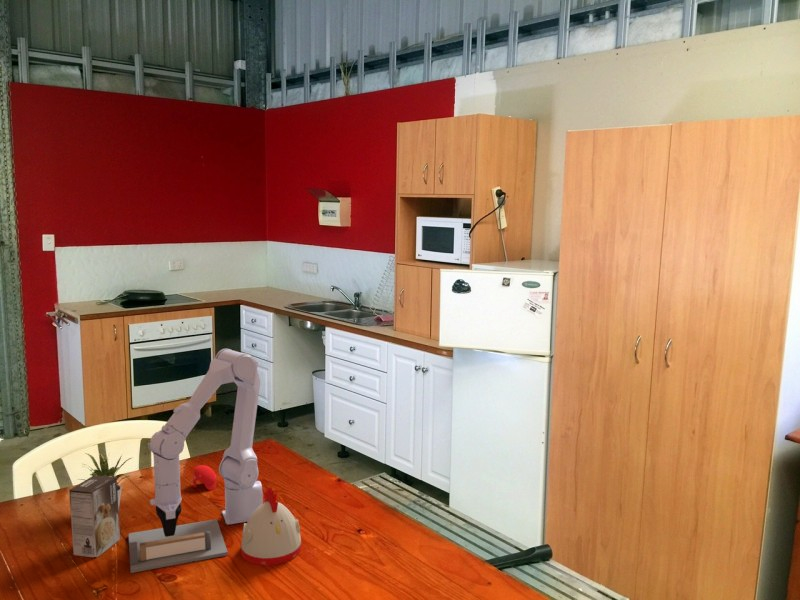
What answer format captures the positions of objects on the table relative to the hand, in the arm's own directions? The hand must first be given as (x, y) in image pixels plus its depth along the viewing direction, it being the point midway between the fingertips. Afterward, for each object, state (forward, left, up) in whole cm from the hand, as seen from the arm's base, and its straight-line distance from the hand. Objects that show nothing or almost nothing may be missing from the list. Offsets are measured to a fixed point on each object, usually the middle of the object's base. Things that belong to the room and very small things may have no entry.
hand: (169, 534), depth 163 cm
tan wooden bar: (0, +8, -1) cm, 8 cm away
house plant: (+15, -24, -2) cm, 28 cm away
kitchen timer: (-22, +12, -2) cm, 25 cm away
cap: (-12, -31, -2) cm, 33 cm away
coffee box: (+16, -4, -2) cm, 17 cm away
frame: (-1, +2, -2) cm, 3 cm away
